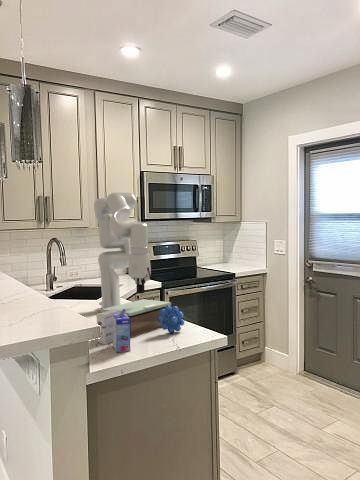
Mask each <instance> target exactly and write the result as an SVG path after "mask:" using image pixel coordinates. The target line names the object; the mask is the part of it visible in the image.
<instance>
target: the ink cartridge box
mask: <svg viewBox="0 0 360 480" xmlns="http://www.w3.org/2000/svg"><path fill="white" fill-rule="evenodd" d="M123 311H124V313H123ZM123 311H122V312H121V314H113V342H112V346H113V348H114V350H115V353H123V352H126V353H127V352H131V337H130V318H129V317H128V316H127V315H126V313H125V309H123Z"/></svg>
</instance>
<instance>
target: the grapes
mask: <svg viewBox="0 0 360 480" xmlns="http://www.w3.org/2000/svg"><path fill="white" fill-rule="evenodd" d="M160 314H161V315H162V316H159V317H158V320H159V322H160V323H162V324H161V327H162V328H161V329H162V330H167V331H168V333H171V334H174V332H175V331H176V332H180V331H181V329H182V327H181V326H184V325H185V320H184V319H183V318H184V312H182V311H179V307H178V306H177V305H174V306H172V305H166V306H165V309H161V310H160Z"/></svg>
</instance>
